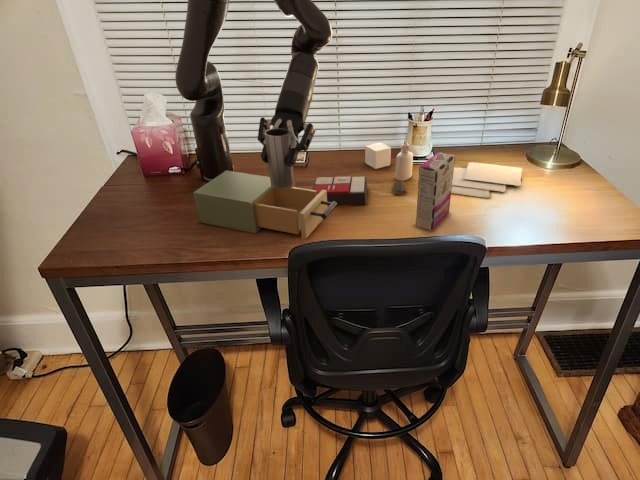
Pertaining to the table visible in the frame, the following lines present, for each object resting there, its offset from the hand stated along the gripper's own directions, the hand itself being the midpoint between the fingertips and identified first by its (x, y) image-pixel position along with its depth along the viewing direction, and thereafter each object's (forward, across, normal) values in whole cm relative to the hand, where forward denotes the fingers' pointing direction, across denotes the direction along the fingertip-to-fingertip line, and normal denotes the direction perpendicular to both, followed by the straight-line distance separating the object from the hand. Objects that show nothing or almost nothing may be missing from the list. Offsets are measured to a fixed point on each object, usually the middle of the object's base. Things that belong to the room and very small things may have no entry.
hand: (277, 163), depth 102 cm
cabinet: (+11, -13, +13) cm, 22 cm away
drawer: (+10, +3, +13) cm, 17 cm away
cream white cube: (-21, +10, +45) cm, 51 cm away
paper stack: (-20, +43, +43) cm, 64 cm away
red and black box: (-2, +7, +27) cm, 28 cm away
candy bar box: (+1, +35, +23) cm, 42 cm away
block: (-9, +22, +33) cm, 41 cm away
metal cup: (+3, 0, +6) cm, 6 cm away
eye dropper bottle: (-15, +21, +40) cm, 47 cm away
